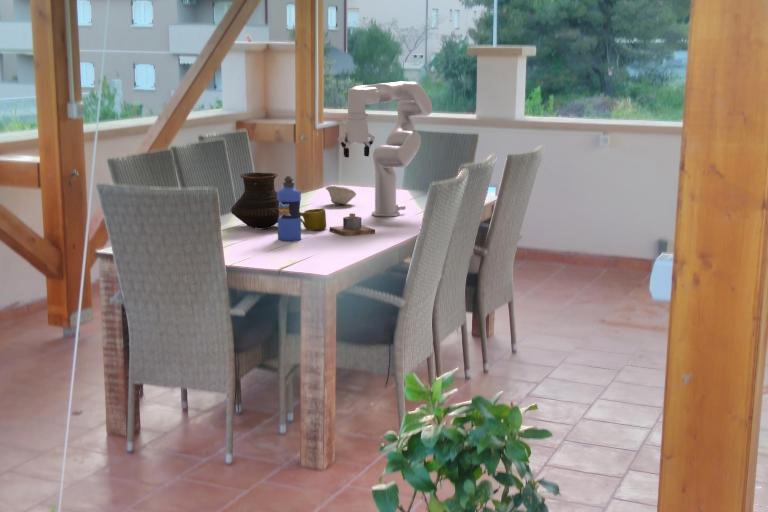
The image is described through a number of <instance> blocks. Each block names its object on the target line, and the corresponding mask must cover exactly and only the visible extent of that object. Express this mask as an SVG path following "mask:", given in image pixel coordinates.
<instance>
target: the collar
mask: <svg viewBox="0 0 768 512" xmlns="http://www.w3.org/2000/svg"><path fill="white" fill-rule="evenodd" d="M362 218H363V217H362V216H355V219H349V216H344V217H343V218H342V226H343V229H346V230H357V229H361V228H362V226H363V225H362V221H363V220H362Z"/></svg>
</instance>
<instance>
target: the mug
mask: <svg viewBox="0 0 768 512" xmlns="http://www.w3.org/2000/svg"><path fill="white" fill-rule="evenodd" d="M326 214H327V213H326V209H325V208H313V209H306V210H305V211H304V212H302V211H300V217H302V218H303V219H302V218H301V223H302V224H303V226H304V228H305V230H308V231H313V232H314V231H315V232H318V231H322V230H326V228H327V217H326Z"/></svg>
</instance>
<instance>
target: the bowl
mask: <svg viewBox="0 0 768 512" xmlns="http://www.w3.org/2000/svg"><path fill="white" fill-rule="evenodd" d="M325 190H327V192H328V193H329V197H330V202H331V203H333V204H334V205H340V204H341V205H344V206H345V205H347V204H348V203H349V202H350V201H352V199H354V198H356V195H357V193H356V192H355V190H353V189H350V188H349V187H346V186H345V187H344V186H336V185H328V186H326V187H325Z"/></svg>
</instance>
